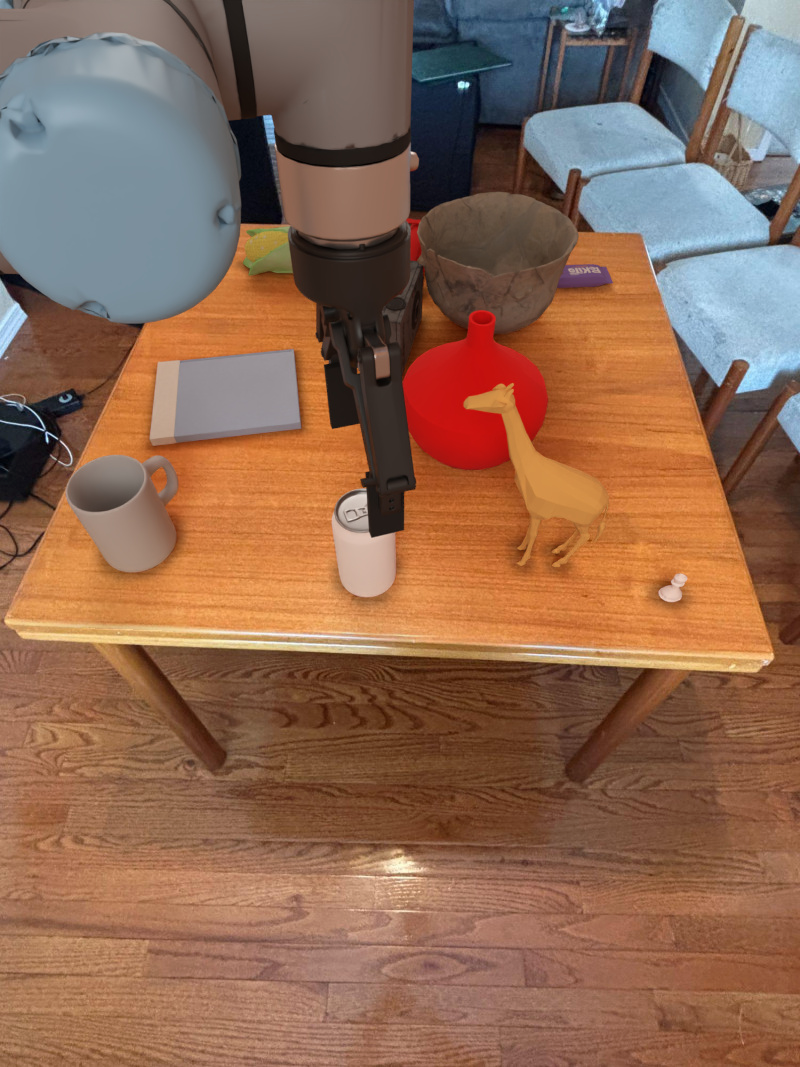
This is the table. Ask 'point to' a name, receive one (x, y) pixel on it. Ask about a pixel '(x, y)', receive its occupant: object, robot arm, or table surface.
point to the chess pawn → (673, 589)
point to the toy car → (415, 241)
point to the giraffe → (545, 479)
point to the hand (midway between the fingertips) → (364, 473)
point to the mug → (125, 509)
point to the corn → (268, 251)
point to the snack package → (584, 276)
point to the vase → (466, 372)
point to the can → (361, 548)
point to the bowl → (495, 257)
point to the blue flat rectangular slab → (225, 397)
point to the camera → (406, 312)
